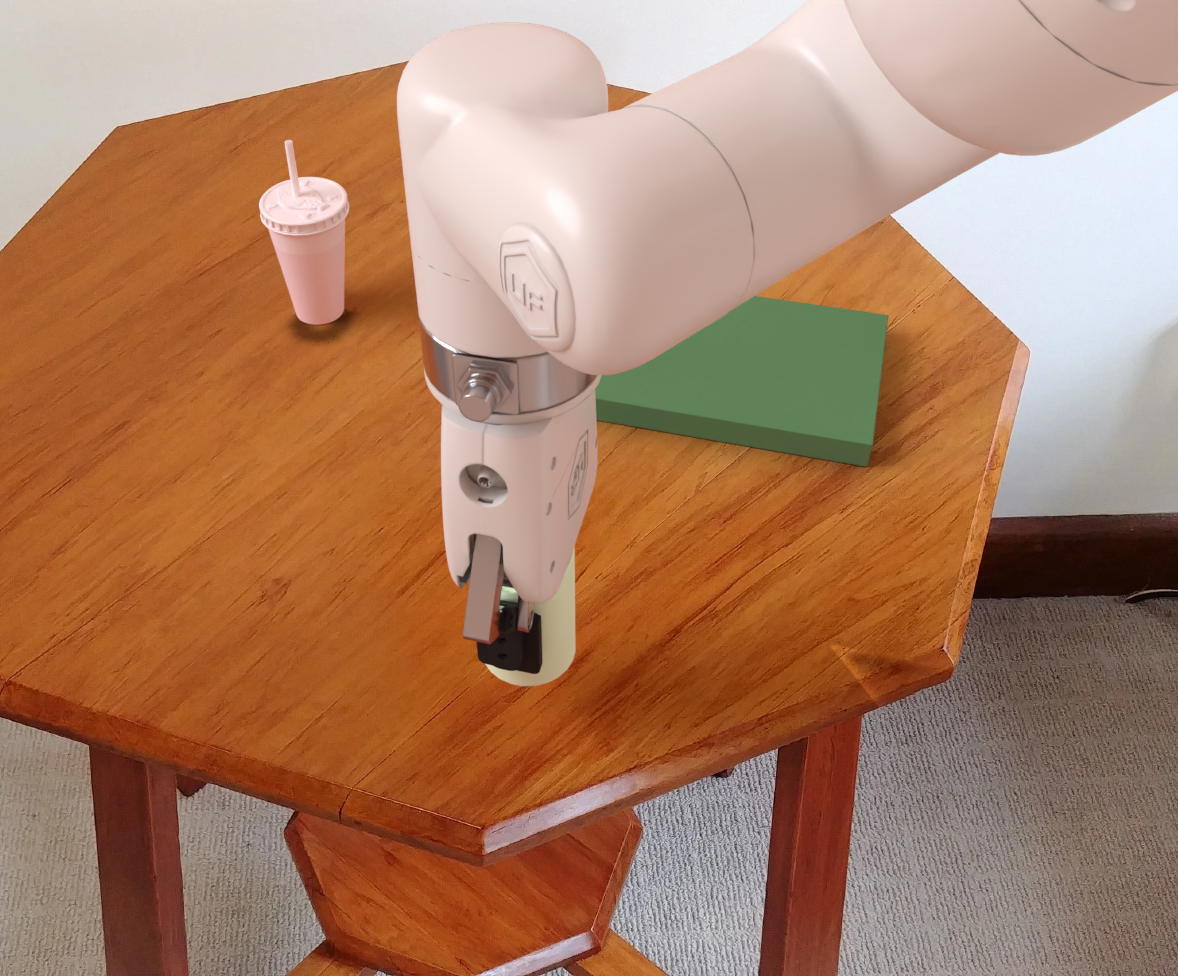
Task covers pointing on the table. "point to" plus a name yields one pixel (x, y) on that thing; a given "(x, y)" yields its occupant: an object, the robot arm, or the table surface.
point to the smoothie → (309, 241)
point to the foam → (763, 382)
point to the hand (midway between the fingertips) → (524, 622)
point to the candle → (549, 633)
